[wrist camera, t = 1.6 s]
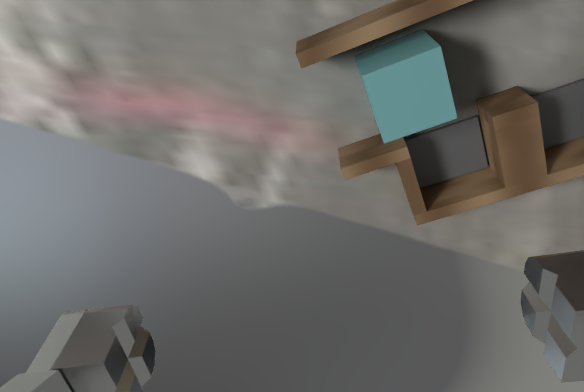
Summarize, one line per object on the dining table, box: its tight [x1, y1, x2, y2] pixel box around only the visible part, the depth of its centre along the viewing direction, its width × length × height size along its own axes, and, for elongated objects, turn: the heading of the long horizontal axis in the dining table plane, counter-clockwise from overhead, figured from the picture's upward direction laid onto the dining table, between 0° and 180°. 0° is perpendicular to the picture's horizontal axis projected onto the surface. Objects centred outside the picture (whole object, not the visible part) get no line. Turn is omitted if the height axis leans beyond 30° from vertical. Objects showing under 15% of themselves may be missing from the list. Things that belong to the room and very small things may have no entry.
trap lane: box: [296, 0, 584, 225], centre depth 31 cm, size 31×16×4 cm, turn 112°
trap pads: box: [405, 79, 584, 188], centre depth 36 cm, size 15×5×1 cm, turn 112°
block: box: [355, 30, 457, 143], centre depth 32 cm, size 5×5×5 cm
